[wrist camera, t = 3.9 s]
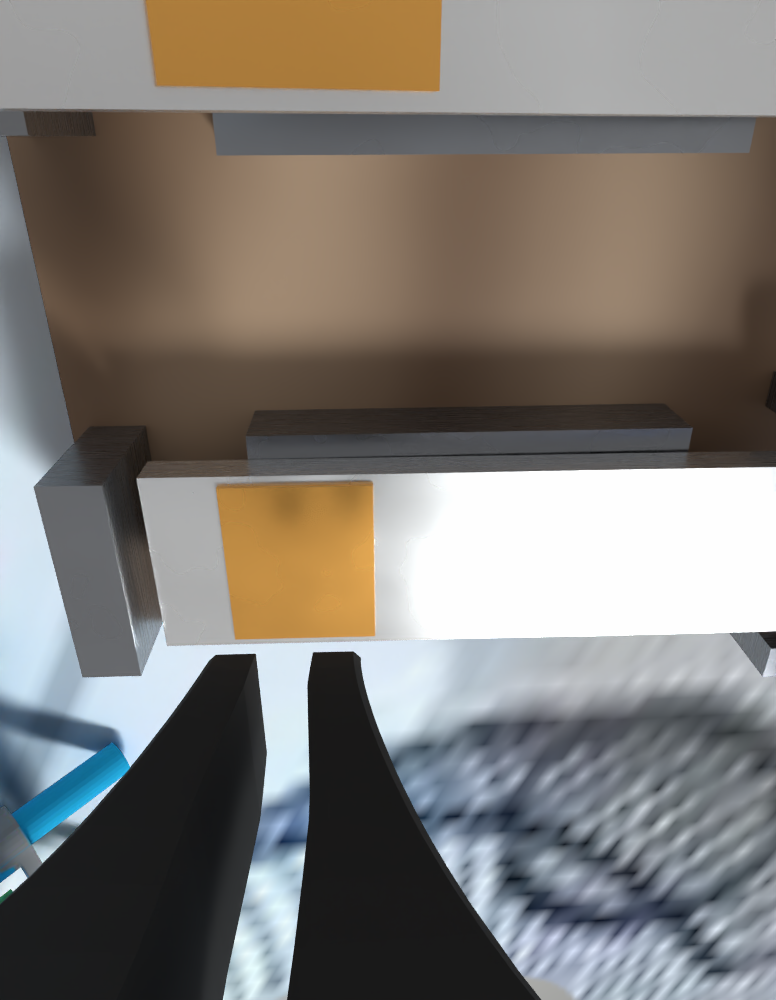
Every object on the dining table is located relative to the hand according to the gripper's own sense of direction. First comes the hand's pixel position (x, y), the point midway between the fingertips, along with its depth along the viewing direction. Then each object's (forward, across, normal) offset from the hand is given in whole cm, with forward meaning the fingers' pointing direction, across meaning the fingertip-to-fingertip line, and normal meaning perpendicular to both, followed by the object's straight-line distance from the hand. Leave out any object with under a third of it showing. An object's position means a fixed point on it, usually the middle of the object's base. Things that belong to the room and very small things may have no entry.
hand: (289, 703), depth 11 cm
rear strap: (+5, -4, 0) cm, 6 cm away
